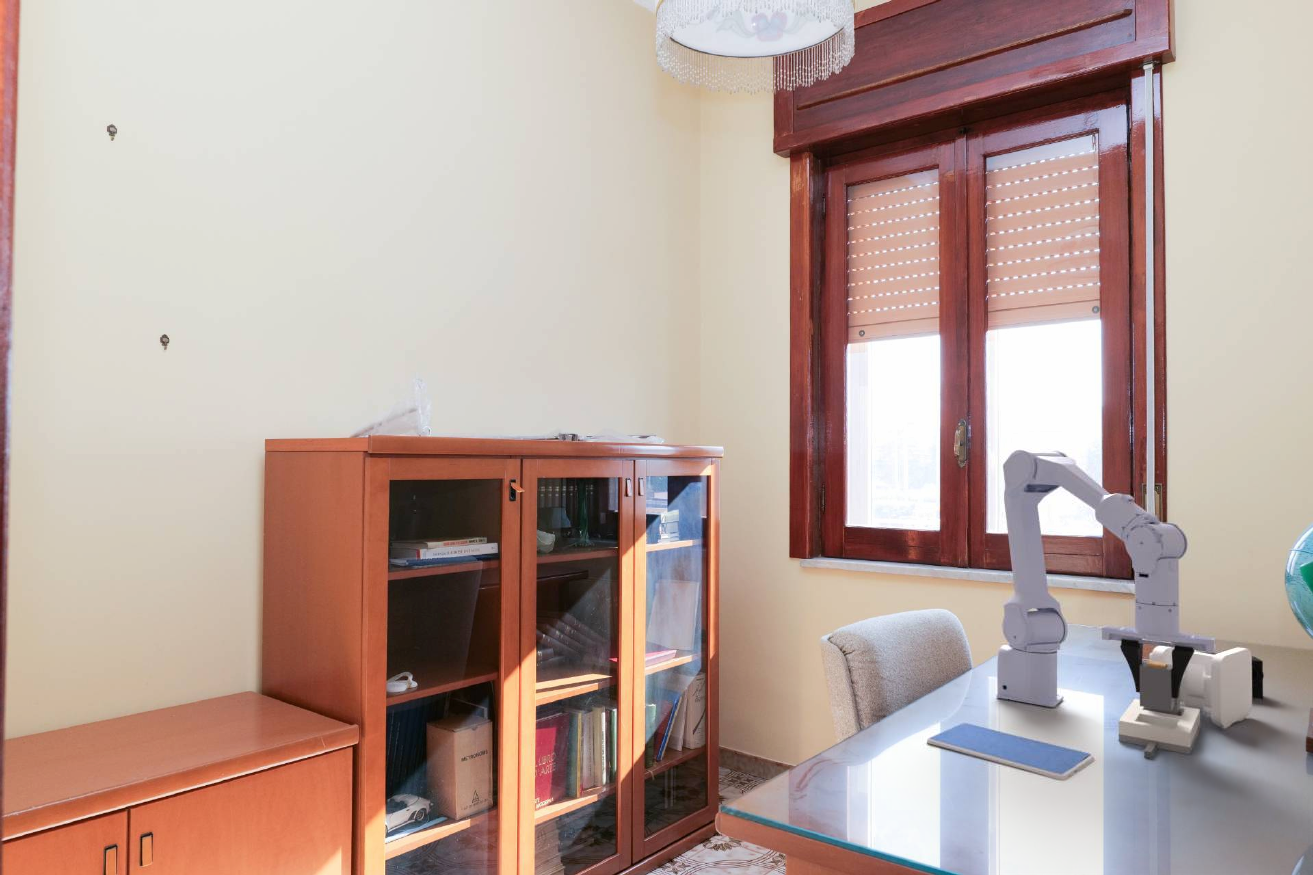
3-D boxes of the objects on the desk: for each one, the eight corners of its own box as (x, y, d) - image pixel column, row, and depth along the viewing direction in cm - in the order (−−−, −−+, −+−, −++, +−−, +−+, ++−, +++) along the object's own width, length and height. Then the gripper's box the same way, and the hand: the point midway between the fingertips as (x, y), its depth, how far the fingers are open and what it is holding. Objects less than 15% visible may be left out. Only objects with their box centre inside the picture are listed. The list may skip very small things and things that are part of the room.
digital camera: (1199, 694, 151) (1198, 656, 152) (1190, 687, 156) (1190, 650, 157) (1266, 701, 148) (1265, 661, 148) (1254, 693, 153) (1254, 655, 153)
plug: (1139, 705, 123) (1139, 663, 123) (1143, 700, 126) (1143, 658, 127) (1171, 711, 121) (1170, 667, 121) (1174, 705, 124) (1174, 663, 124)
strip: (1185, 765, 113) (1185, 713, 113) (1111, 750, 118) (1111, 701, 119) (1200, 728, 130) (1199, 683, 130) (1134, 716, 136) (1134, 674, 136)
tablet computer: (1096, 762, 115) (1096, 753, 115) (1063, 785, 106) (1063, 774, 106) (963, 729, 129) (963, 721, 129) (924, 747, 120) (924, 738, 120)
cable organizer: (1220, 733, 128) (1220, 658, 128) (1147, 716, 136) (1147, 646, 137) (1253, 717, 137) (1253, 647, 138) (1183, 702, 146) (1182, 636, 146)
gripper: (1097, 600, 126) (1098, 690, 125) (1212, 611, 117) (1213, 708, 116) (1106, 595, 131) (1106, 681, 131) (1215, 606, 122) (1216, 698, 122)
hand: (1157, 693), depth 124 cm, fingers closed on plug, 4 cm apart
